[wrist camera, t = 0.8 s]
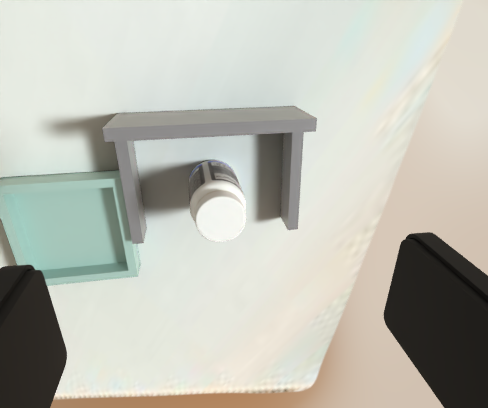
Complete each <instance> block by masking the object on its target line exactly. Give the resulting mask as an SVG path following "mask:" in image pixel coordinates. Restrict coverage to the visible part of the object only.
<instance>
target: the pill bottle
mask: <svg viewBox="0 0 488 408" xmlns="http://www.w3.org/2000/svg"><path fill="white" fill-rule="evenodd" d="M189 205H190V213H191V216H192V218H193V220H194V221H195V223H196V227H197V229H198V231H199V233H200V234H201V235H202V236H203V237H205V238H206V239H208V240H210V241H214V242H225V241H229V240H231V239H233V238H235V237H236V236H237V235H239V234H240V232H241V231H242V230H243V228H244V226H245V223H246V213H245V210H246V200H245V197H244V194H243V192H242V189H241V187H240V184H239V182H238V180H237V177H236V175H235V173H234V171H233V169H232V168H231V167H230V166H229V165H227V164H226V163H224V162H222V161H219V160H209V161H205V162H202V163H200V164H199V165H197V166H196V167H195V168H194V169H193V171H192V173H191V175H190V178H189Z"/></svg>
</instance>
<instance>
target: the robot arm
mask: <svg viewBox="0 0 488 408" xmlns="http://www.w3.org/2000/svg"><path fill="white" fill-rule="evenodd" d="M384 320H385V323H386V325H387V327H388V329H389V330H390V331H391V333H392V334H393V336H394V337H395V338H396V340H397V341H398V343H399V344H400V345H401V347H402V348H403V350H404V351H405V353H406V354H407V355H408V357H409V358H410V360H411V361H412V362H413V364H414V365H415V367H416V368H417V369H418V371H419V372H420V374H421V375H422V377H423V378H424V380H425V381H426V382H427V384H428V385H429V386H430V388H431V389H432V391H433V392H434V394H435V395H436V397H437V398H438V399H439V401H440V402H441V404H442V405H443V406H444V408H488V276H487V275H486V274H485V273H484V272H482V271H481V270H480V269H478V268H477V267H475V266H474V265H473V264H472V263H471V262H469V261H468V260H467V259H466V258H464V257H463V256H462V255H461V254H459V253H458V252H457V251H455V250H454V249H453V248H451V247H450V246H449V245H448V244H446V243H445V242H444V241H442V240H441V239H440V238H439V237H437V236H436V235H435V234H433V233H415V234H409V235H408V236H407V237H406V239H405V240H403V241H402V242H401V245H400V249H399V253H398V257H397V261H396V265H395V269H394V273H393V277H392V282H391V286H390V290H389V294H388V298H387V302H386V306H385V310H384ZM66 360H67V351H66V347H65V344H64V340H63V337H62V334H61V331H60V327H59V324H58V321H57V318H56V314H55V311H54V308H53V304H52V301H51V298H50V295H49V291H48V288H47V285H46V281H45V278H44V275H43V273H42V271H41V270H35V268H34V267H33V266H32V265H17V266H5V267H2V268H1V269H0V408H50V406H51V403H52V401H53V398H54V395H55V393H56V390H57V387H58V384H59V381H60V379H61V376H62V373H63V370H64V368H65V365H66Z"/></svg>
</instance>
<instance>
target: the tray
mask: <svg viewBox="0 0 488 408" xmlns="http://www.w3.org/2000/svg"><path fill="white" fill-rule="evenodd" d="M0 218H1V221H2V224H3V226H4V229H5V232H6V235H7V238H8V240H9V243H10V246H11V249H12V252H13V254H14V257H15V260H16V263H17V265H32V266H33V267H34V268H35V270H41V271H42V273H43V275H44V278H45V281H46V285H47V286H50V285H59V284H69V283H79V282H89V281H98V280H108V279H118V278H128V277H137V276H138V274H139V269H140V258H139V252H138V246H137V244H132V239H131V233H130V227H129V222H128V216H127V210H126V205H125V199H124V194H123V188H122V182H121V177H120V171H119V170H114V171H98V172H82V173H66V174H50V175H34V176H18V177H2V178H1V179H0Z"/></svg>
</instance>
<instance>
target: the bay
mask: <svg viewBox="0 0 488 408" xmlns="http://www.w3.org/2000/svg"><path fill="white" fill-rule="evenodd" d="M316 122H317V118H315V117H313V116H311V115H310V114H308V113H306V112H304V111H303V110H301V109H299V108H297V107H295V106H284V107H259V108H235V109H210V110H185V111H161V112H136V113H117V114H116V115H115V116H114V117H113V118H112V119H111V120H110V121H109V122H108V123H107V124H106V125H105V126H104V127H103V128H102V130H103V135H104V141H105V142H114V143H115V149H116V154H117V160H118V165H119V171H120V177H121V182H122V188H123V194H124V199H125V205H126V210H127V216H128V222H129V227H130V233H131V239H132V244H138V243H144V238H145V233H146V228H147V227H146V220H145V214H144V207H143V201H142V194H141V188H140V181H139V175H138V168H137V162H136V155H135V148H134V142H133V141H136V140H155V139H175V138H194V137H214V136H234V135H253V134H273V133H283V158H282V186H281V214H280V217H281V218H282V220H283V222H284V224H285V226H286V227H287V229H288V230H293V229H298V215H299V198H300V182H301V165H302V149H303V132H312V131H316Z"/></svg>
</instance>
